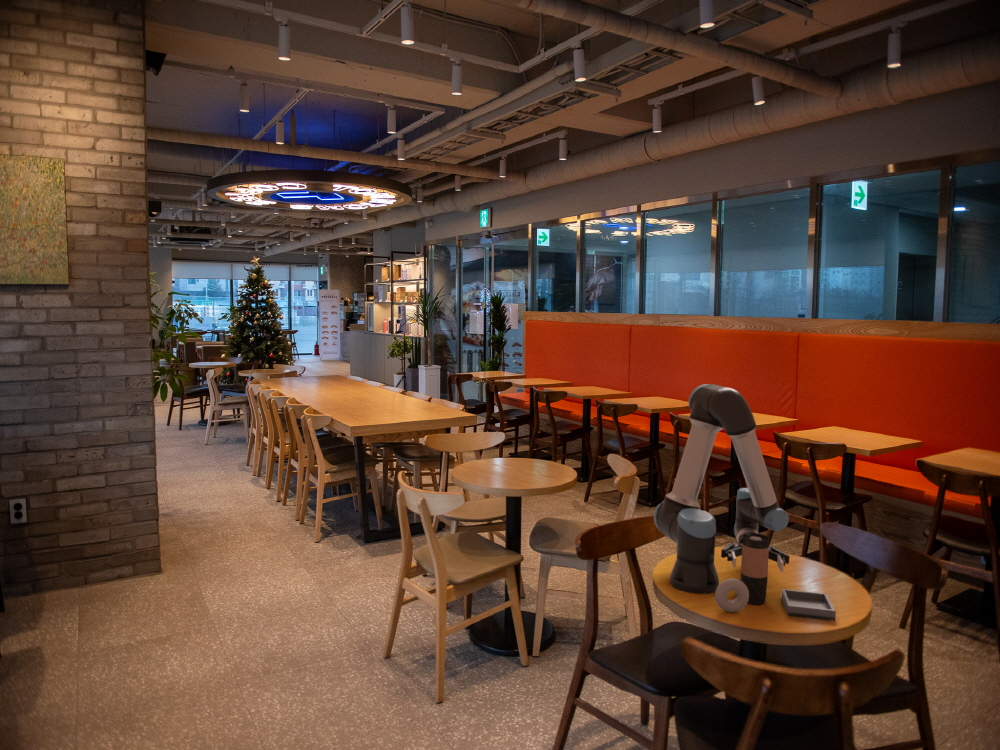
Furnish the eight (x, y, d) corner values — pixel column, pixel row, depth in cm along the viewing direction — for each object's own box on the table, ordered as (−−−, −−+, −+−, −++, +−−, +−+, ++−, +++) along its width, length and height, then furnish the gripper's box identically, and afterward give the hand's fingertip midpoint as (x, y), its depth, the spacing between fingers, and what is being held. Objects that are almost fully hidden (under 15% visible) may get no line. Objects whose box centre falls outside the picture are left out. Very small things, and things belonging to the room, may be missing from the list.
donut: (745, 609, 203) (747, 576, 202) (750, 614, 200) (752, 580, 199) (712, 609, 202) (713, 576, 201) (716, 614, 199) (718, 581, 198)
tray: (787, 615, 199) (788, 605, 199) (781, 598, 211) (781, 588, 211) (835, 621, 196) (835, 610, 195) (825, 603, 208) (826, 593, 208)
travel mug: (763, 608, 204) (766, 542, 202) (737, 602, 208) (740, 538, 206) (768, 599, 210) (771, 535, 208) (742, 593, 214) (745, 531, 212)
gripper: (789, 557, 227) (801, 581, 206) (710, 549, 232) (714, 572, 212) (790, 534, 226) (802, 557, 205) (711, 528, 232) (715, 549, 211)
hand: (758, 565), depth 208 cm, fingers open, 13 cm apart
